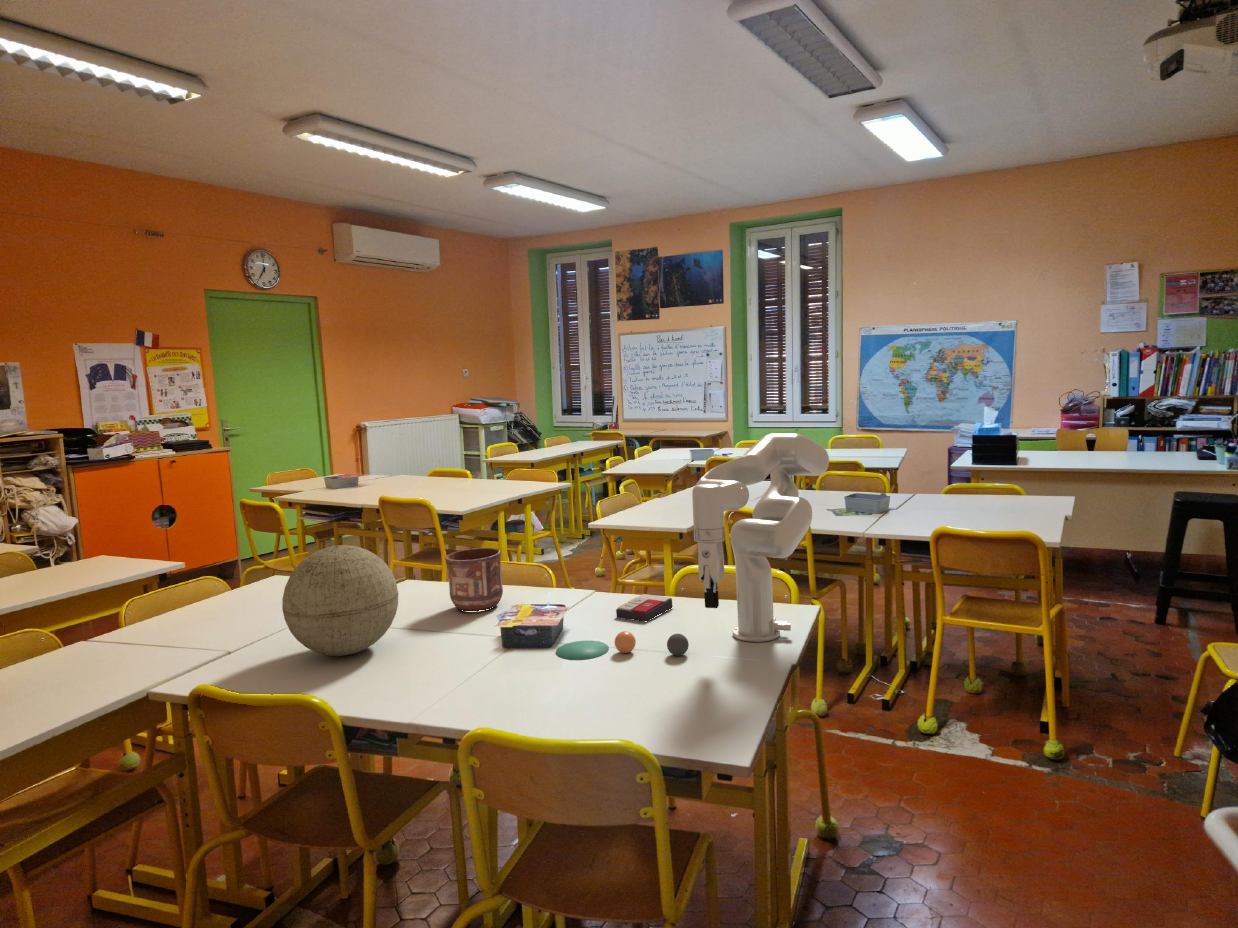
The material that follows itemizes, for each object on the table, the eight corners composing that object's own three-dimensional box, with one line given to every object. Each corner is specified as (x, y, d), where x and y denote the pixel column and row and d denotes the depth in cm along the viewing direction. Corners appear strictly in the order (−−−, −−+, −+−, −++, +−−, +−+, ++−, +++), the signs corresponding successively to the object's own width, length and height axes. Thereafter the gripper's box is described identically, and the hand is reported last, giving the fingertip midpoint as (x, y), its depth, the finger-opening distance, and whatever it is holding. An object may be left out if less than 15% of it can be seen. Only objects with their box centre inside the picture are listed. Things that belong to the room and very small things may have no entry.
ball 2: (691, 651, 194) (690, 631, 193) (686, 659, 188) (685, 638, 188) (670, 650, 195) (669, 630, 195) (665, 658, 190) (664, 637, 189)
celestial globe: (269, 657, 208) (258, 551, 205) (369, 628, 230) (360, 531, 227) (319, 682, 188) (307, 564, 185) (423, 647, 210) (414, 541, 206)
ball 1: (638, 649, 198) (637, 628, 197) (632, 656, 193) (631, 635, 192) (618, 648, 199) (617, 627, 199) (612, 655, 194) (611, 634, 194)
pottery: (453, 602, 254) (448, 550, 252) (505, 597, 255) (501, 545, 253) (447, 618, 236) (442, 562, 234) (503, 613, 238) (499, 557, 236)
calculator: (615, 607, 226) (642, 591, 238) (616, 620, 226) (643, 604, 238) (645, 611, 219) (672, 595, 231) (646, 625, 220) (673, 609, 232)
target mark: (615, 642, 204) (615, 641, 204) (598, 661, 191) (598, 660, 191) (567, 640, 208) (567, 639, 208) (547, 658, 195) (547, 657, 195)
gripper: (719, 540, 177) (721, 616, 179) (729, 528, 192) (731, 599, 193) (687, 540, 180) (690, 615, 181) (700, 528, 194) (702, 598, 196)
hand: (711, 606), depth 187 cm, fingers closed
